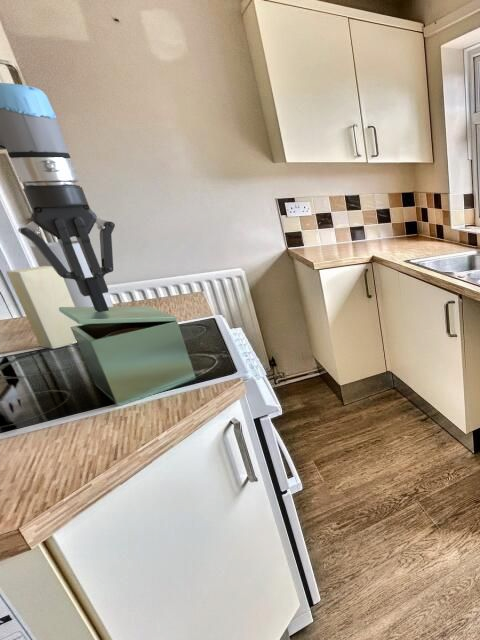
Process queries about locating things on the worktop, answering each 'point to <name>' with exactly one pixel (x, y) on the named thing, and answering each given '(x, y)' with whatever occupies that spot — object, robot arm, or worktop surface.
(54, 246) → the cylinder vase
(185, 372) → the green open box
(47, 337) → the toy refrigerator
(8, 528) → the worktop surface
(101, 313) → the box lid
